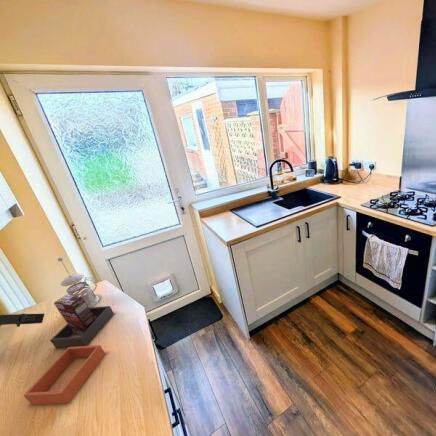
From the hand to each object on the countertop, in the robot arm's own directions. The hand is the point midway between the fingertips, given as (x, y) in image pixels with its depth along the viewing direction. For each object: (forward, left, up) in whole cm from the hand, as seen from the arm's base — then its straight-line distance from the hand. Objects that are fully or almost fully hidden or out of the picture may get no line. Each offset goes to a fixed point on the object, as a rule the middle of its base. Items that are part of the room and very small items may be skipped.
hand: (21, 319), depth 75 cm
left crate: (+10, -5, -21) cm, 24 cm away
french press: (-12, +30, -21) cm, 39 cm away
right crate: (0, +14, -21) cm, 25 cm away
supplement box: (0, +14, -21) cm, 26 cm away
